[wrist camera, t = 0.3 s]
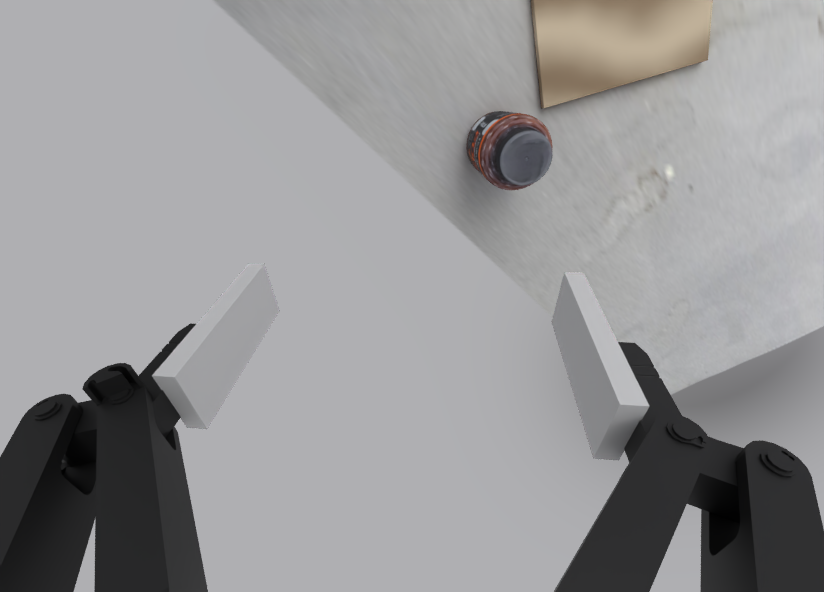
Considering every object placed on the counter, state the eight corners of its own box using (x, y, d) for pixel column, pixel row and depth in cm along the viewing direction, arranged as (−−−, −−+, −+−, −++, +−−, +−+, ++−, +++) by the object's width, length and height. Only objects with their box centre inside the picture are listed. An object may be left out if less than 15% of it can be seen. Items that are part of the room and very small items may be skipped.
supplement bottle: (457, 126, 37) (476, 133, 27) (515, 100, 36) (557, 98, 26) (475, 183, 39) (498, 209, 29) (529, 160, 38) (573, 180, 28)
